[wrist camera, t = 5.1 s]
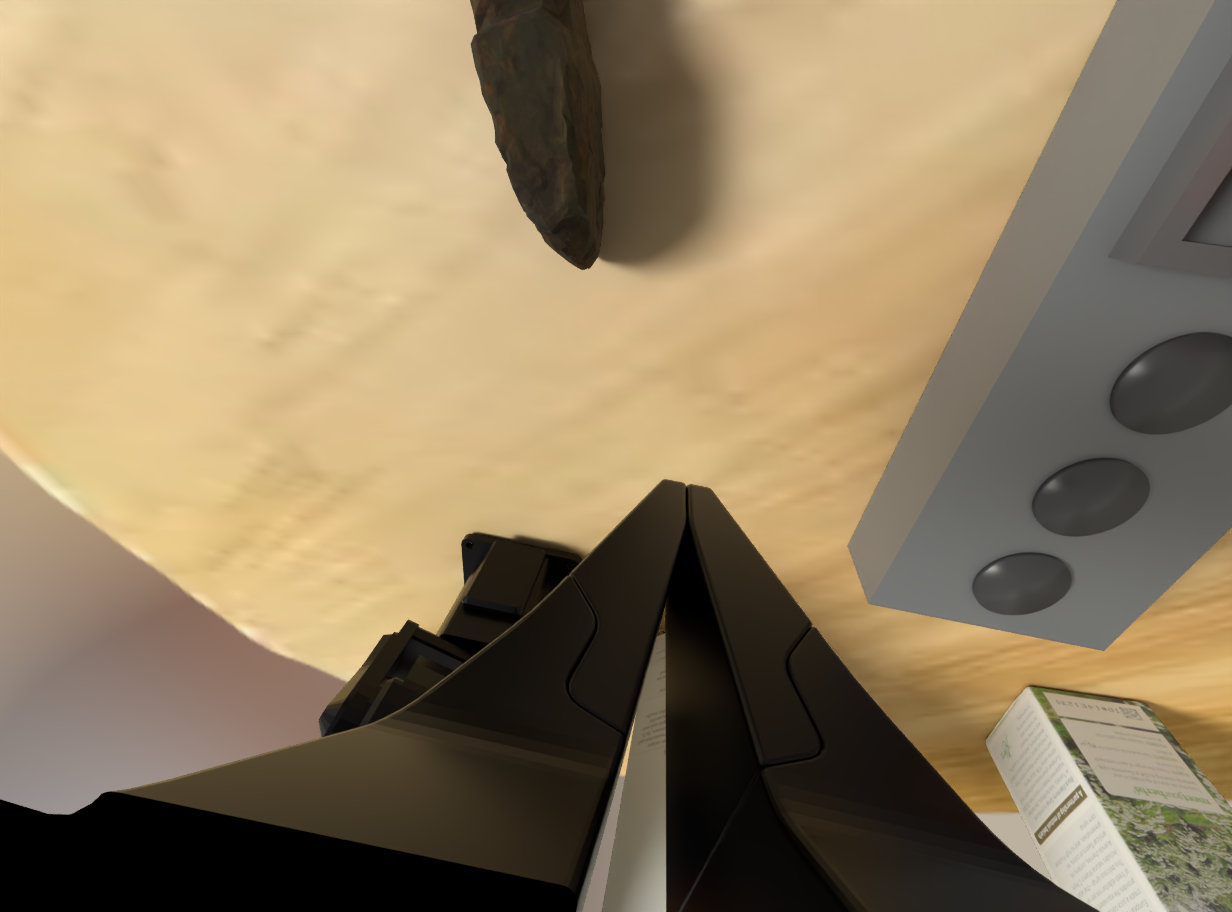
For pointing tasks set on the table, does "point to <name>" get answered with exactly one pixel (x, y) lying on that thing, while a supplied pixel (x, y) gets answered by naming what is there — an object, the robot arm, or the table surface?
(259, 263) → the table surface
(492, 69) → the hand tool
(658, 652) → the skincare box
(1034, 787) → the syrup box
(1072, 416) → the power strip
